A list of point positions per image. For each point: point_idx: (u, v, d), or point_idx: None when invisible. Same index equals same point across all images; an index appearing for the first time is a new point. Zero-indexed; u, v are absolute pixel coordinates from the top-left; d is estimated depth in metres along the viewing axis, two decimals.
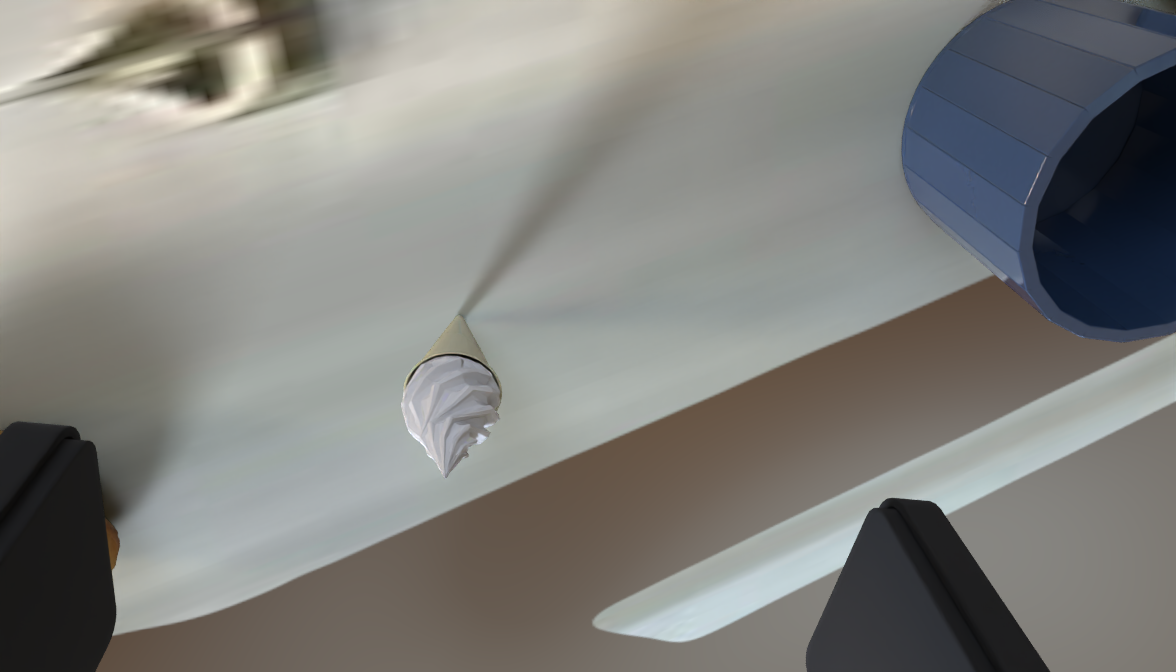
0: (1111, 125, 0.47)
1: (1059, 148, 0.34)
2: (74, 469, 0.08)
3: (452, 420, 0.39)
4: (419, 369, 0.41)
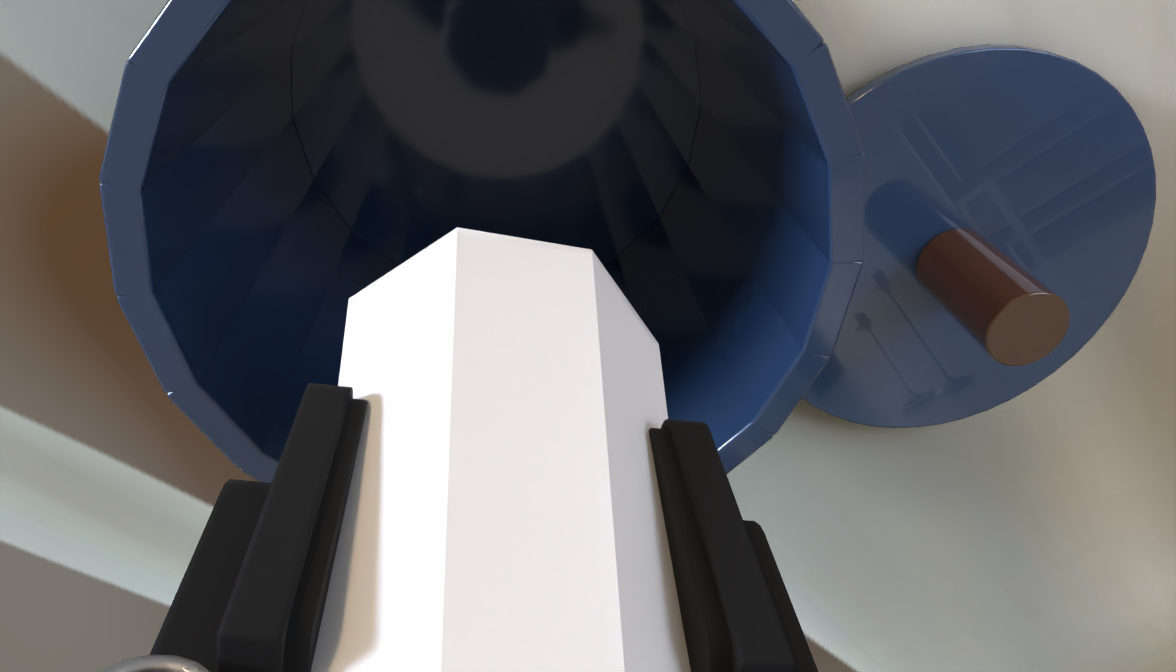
0: None
1: None
2: (362, 423, 0.10)
3: None
4: None
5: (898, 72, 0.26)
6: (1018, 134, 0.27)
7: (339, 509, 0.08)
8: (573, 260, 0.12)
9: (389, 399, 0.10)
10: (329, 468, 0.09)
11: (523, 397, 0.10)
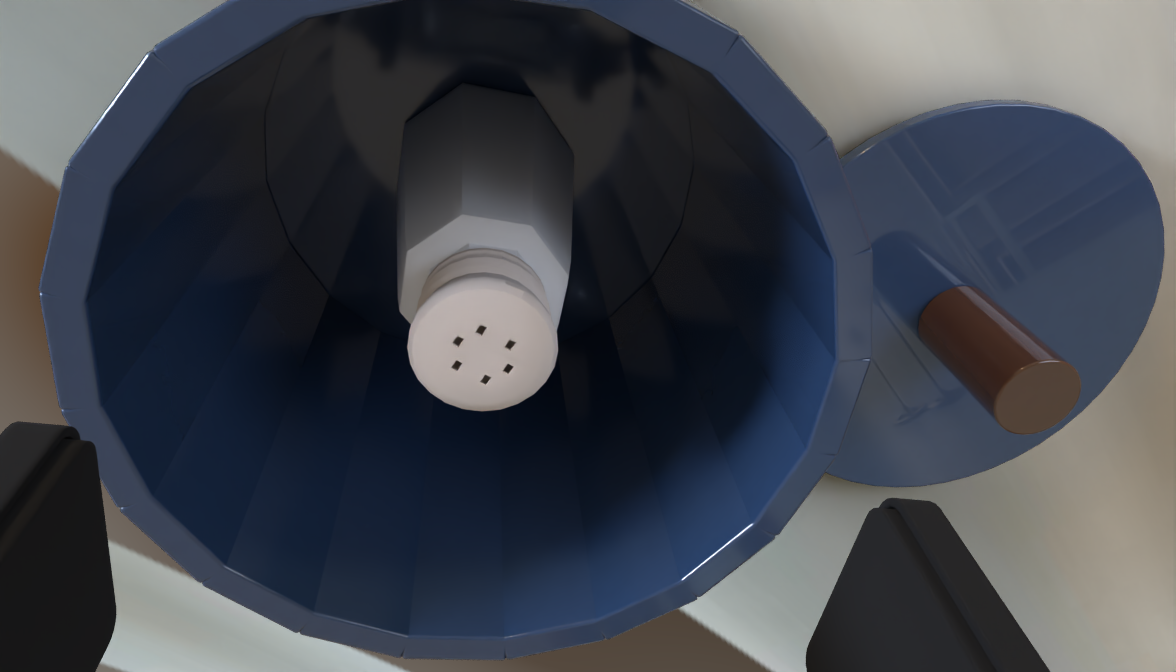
0: None
1: None
2: (74, 469, 0.08)
3: None
4: None
5: (898, 129, 0.25)
6: (1022, 190, 0.26)
7: None
8: (524, 99, 0.24)
9: (432, 145, 0.21)
10: None
11: (495, 138, 0.21)
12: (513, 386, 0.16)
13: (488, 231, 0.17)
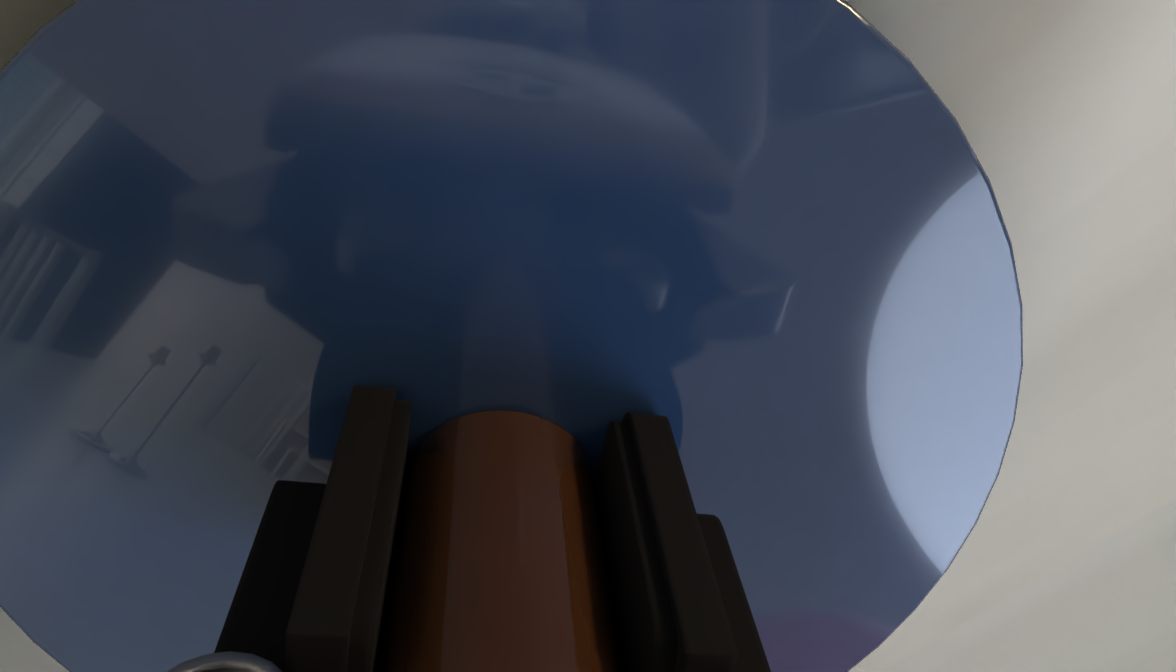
0: None
1: None
2: None
3: None
4: None
5: (983, 169, 0.10)
6: (826, 490, 0.12)
7: (392, 509, 0.09)
8: None
9: None
10: (380, 468, 0.09)
11: None
12: None
13: None
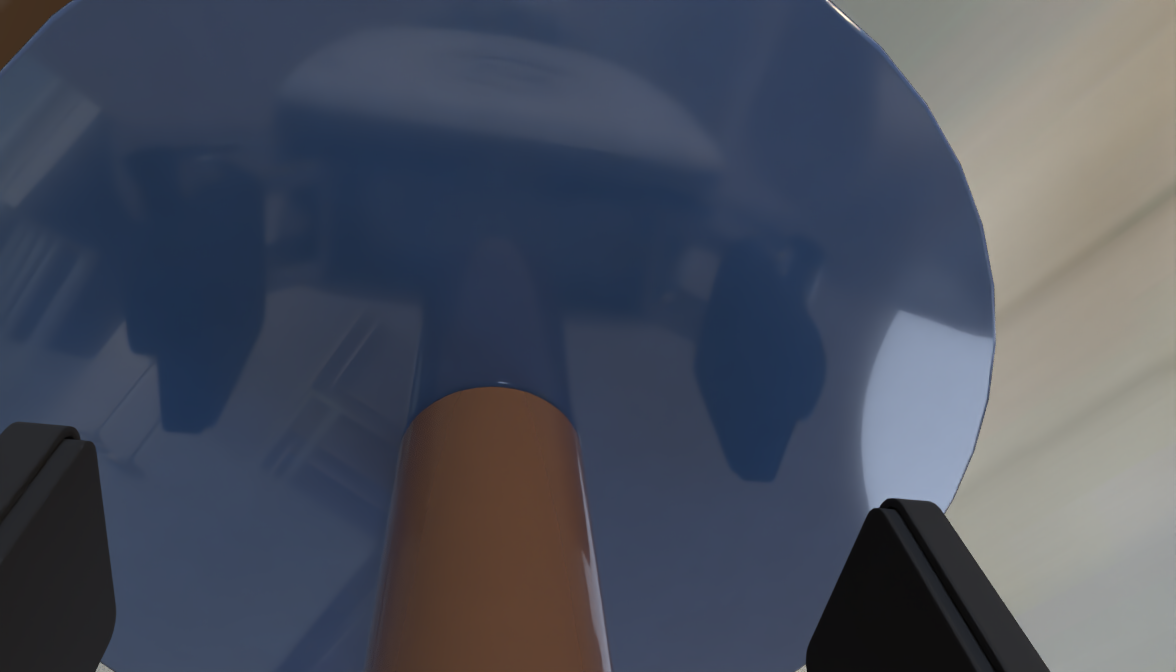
0: None
1: None
2: (74, 469, 0.08)
3: None
4: None
5: None
6: (807, 466, 0.12)
7: None
8: None
9: None
10: None
11: None
12: None
13: None
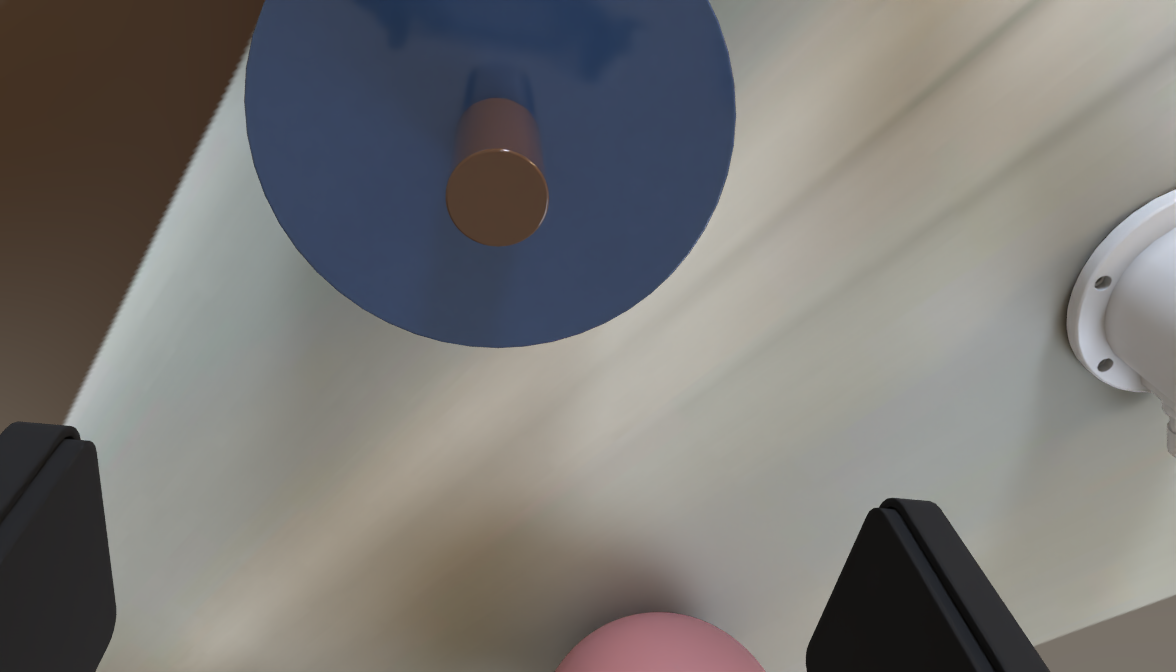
0: None
1: None
2: (74, 469, 0.08)
3: None
4: None
5: None
6: (650, 151, 0.26)
7: None
8: None
9: None
10: None
11: None
12: None
13: None
